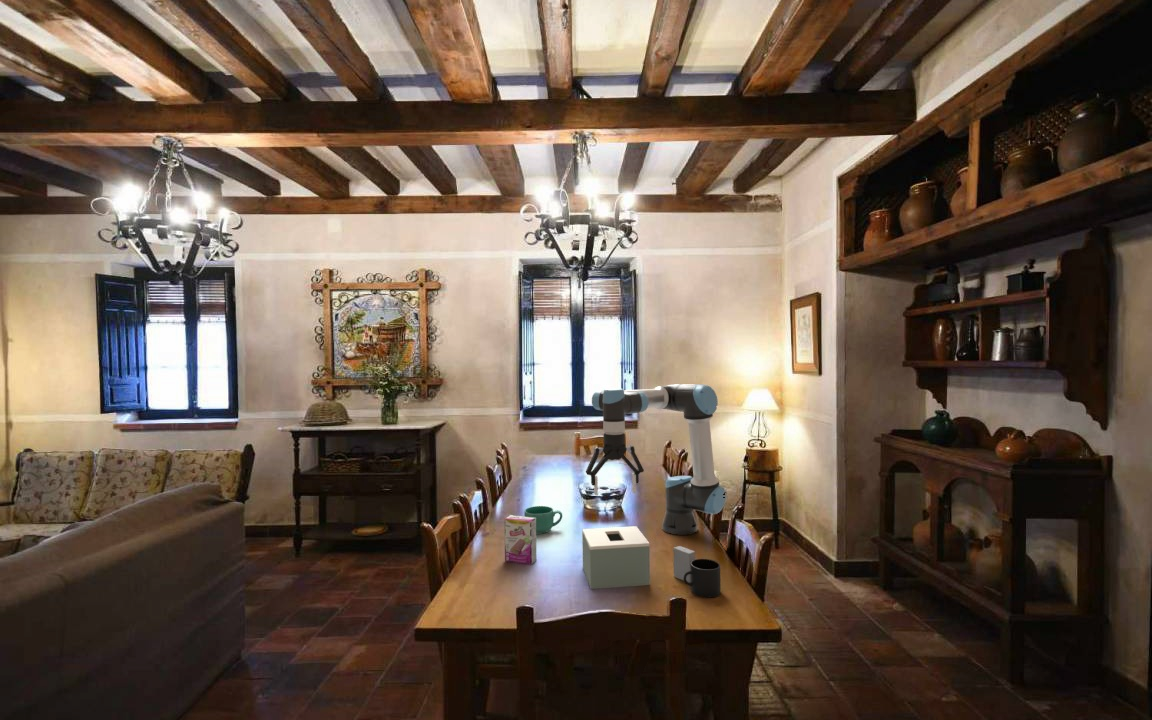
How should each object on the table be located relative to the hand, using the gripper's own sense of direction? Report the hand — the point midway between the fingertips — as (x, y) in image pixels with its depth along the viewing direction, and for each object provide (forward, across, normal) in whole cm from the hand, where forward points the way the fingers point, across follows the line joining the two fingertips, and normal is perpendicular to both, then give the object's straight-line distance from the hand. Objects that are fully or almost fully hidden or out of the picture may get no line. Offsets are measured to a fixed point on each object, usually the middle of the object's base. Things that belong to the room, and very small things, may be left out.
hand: (615, 493), depth 190 cm
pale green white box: (+28, +1, +1) cm, 28 cm away
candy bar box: (+28, +33, -18) cm, 47 cm away
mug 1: (+29, +22, -51) cm, 62 cm away
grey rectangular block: (+29, -22, +7) cm, 37 cm away
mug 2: (+29, -24, +18) cm, 42 cm away
